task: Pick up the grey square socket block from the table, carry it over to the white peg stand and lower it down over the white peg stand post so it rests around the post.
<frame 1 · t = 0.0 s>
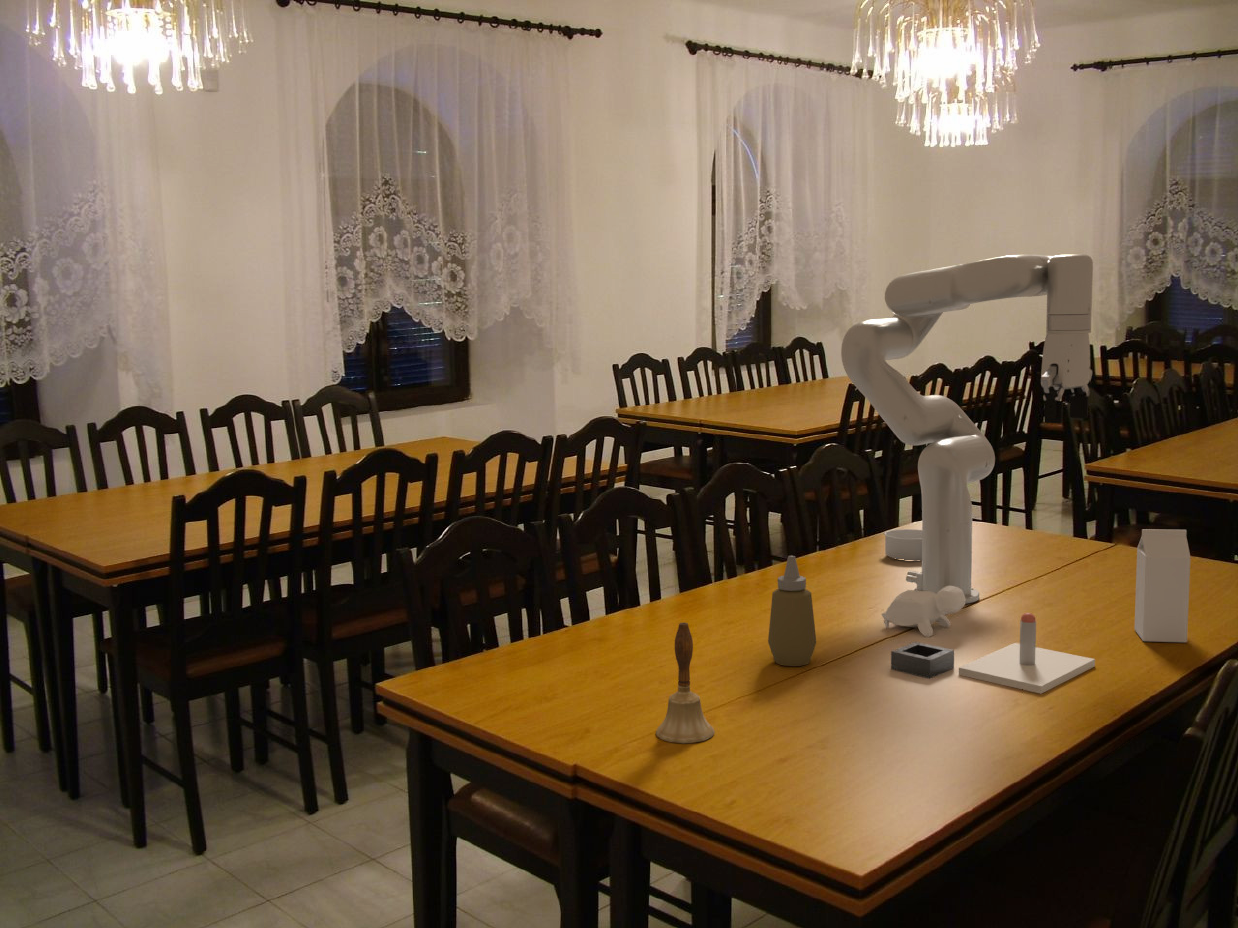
hand: (1066, 420, 222), 37 cm above the table, tool pointing down, fingers open, 9 cm apart
milk carton: (1160, 638, 215), on the table
saucepan: (925, 561, 277), on the table
grey square socket block: (922, 668, 201), on the table
white peg stand: (1027, 670, 198), on the table
hand bell: (685, 734, 175), on the table
squeeze bottle: (792, 663, 206), on the table
white turtle figurine: (925, 630, 223), on the table
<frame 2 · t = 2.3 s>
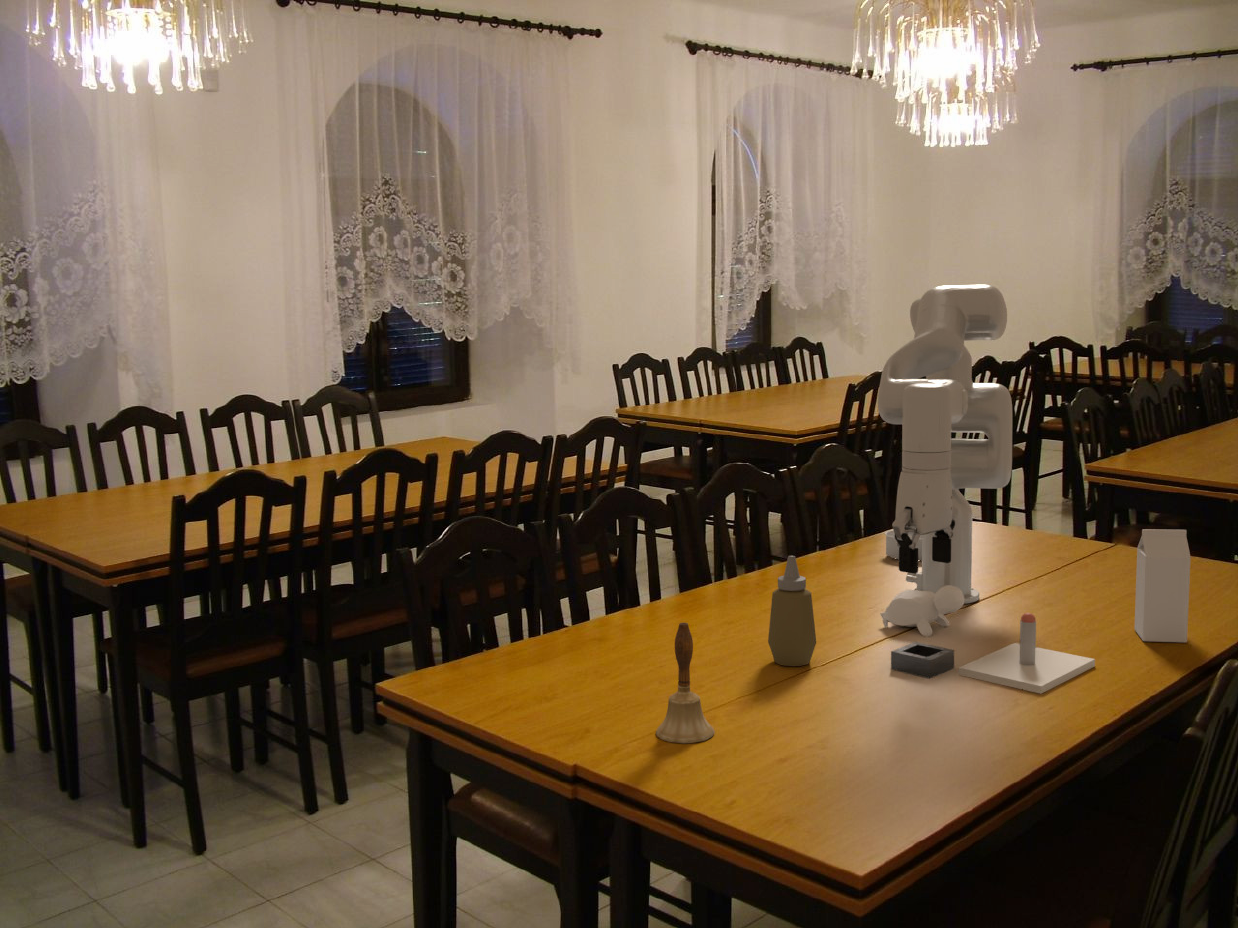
hand: (925, 566, 198), 17 cm above the table, tool pointing down, fingers open, 9 cm apart
nothing on the table moved.
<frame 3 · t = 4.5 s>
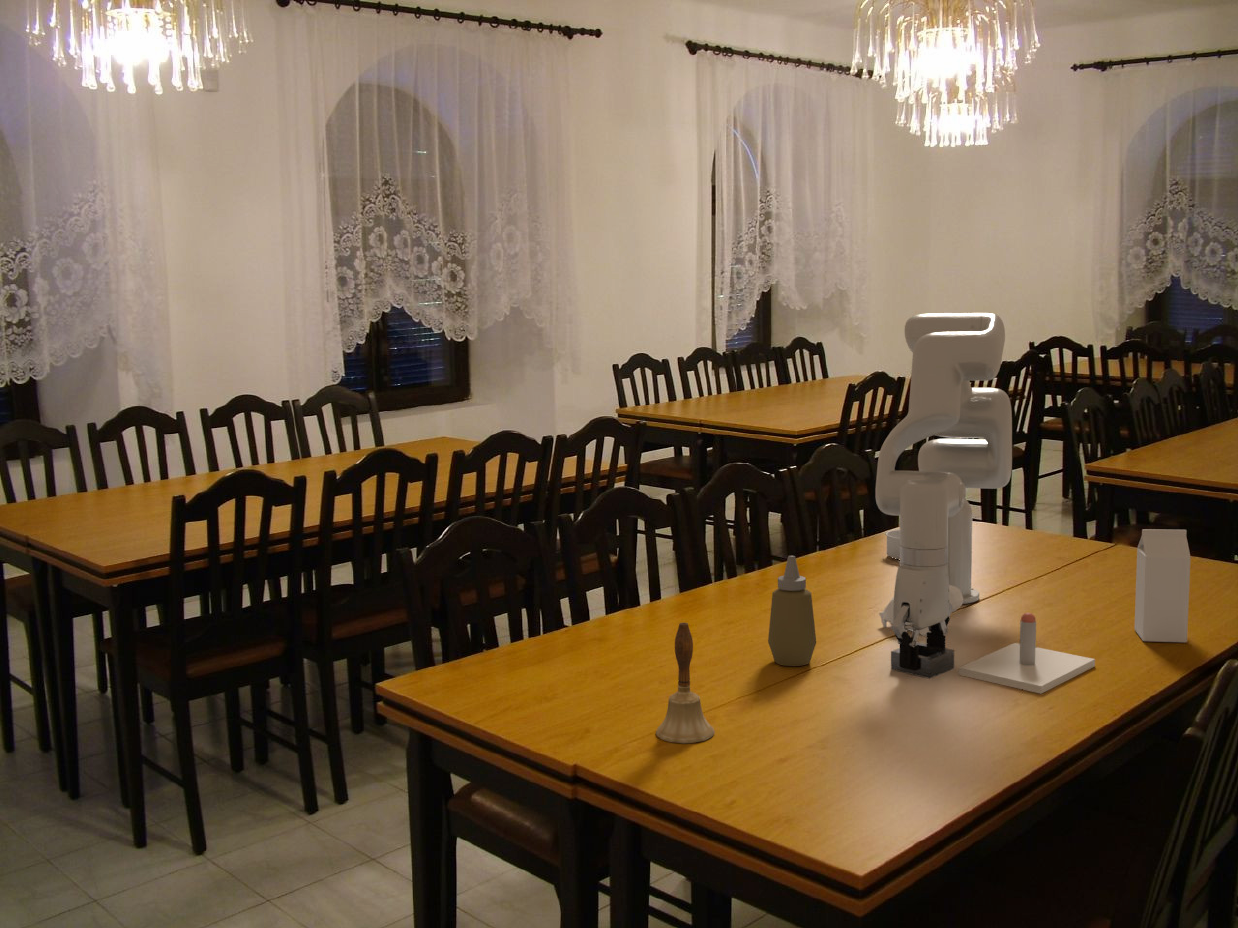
hand: (922, 662, 200), 1 cm above the table, tool pointing down, fingers closed on grey square socket block, 7 cm apart
grey square socket block: (922, 668, 201), on the table, touching gripper
everything else where it was.
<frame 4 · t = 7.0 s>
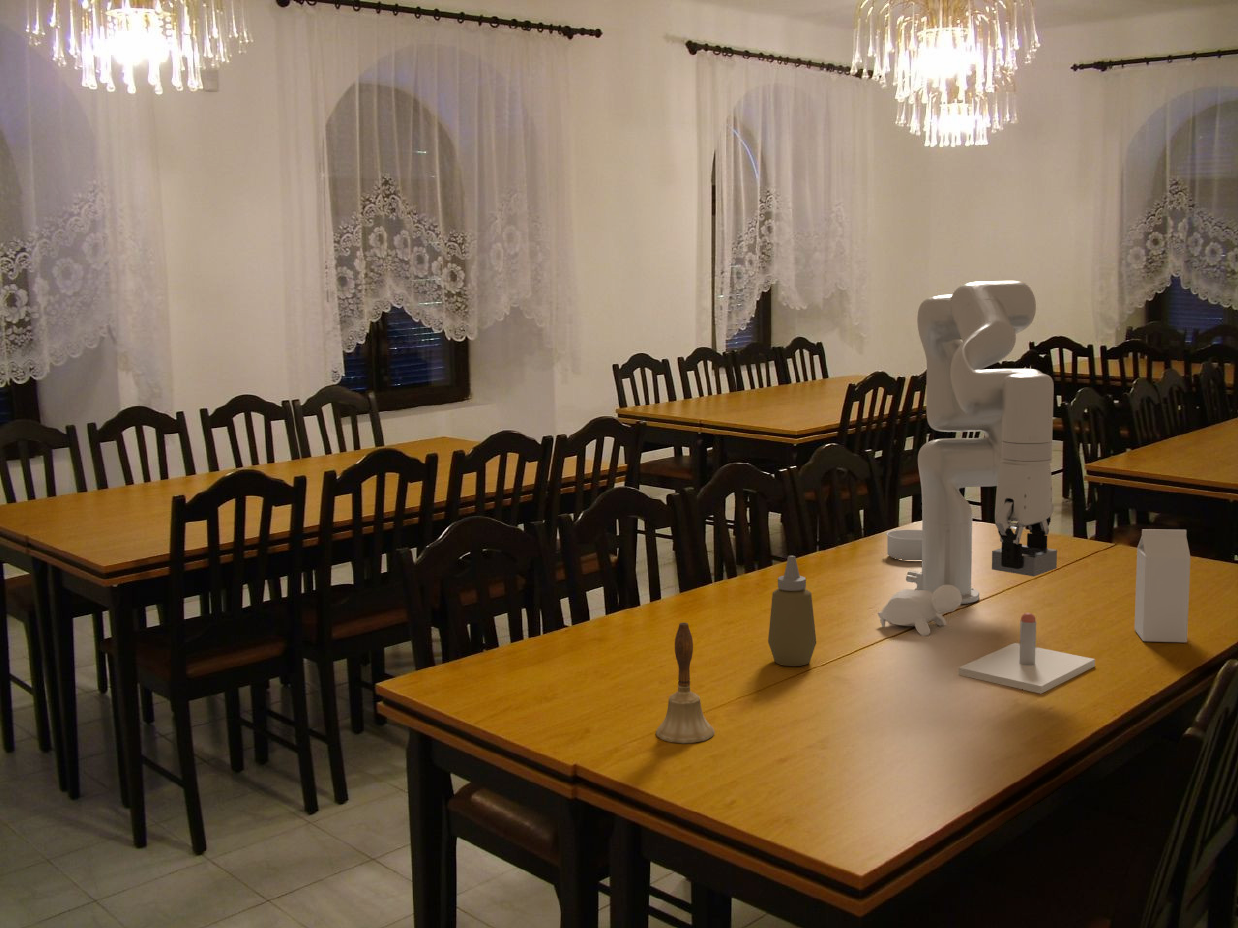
hand: (1024, 562, 196), 18 cm above the table, tool pointing down, fingers closed on grey square socket block, 7 cm apart
grey square socket block: (1024, 568, 196), point 17 cm above the table, touching gripper
everything else where it was.
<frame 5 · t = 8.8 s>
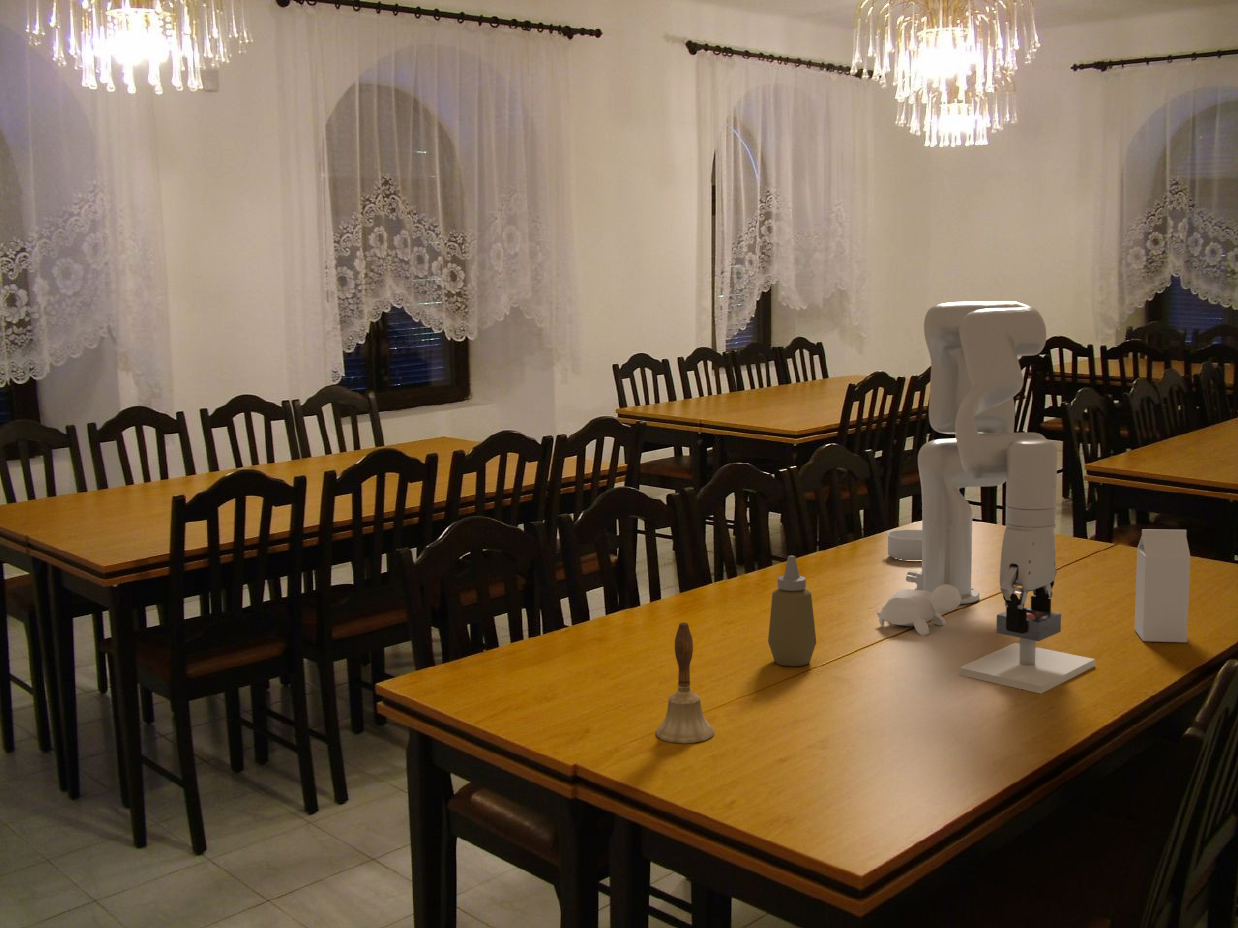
hand: (1028, 625, 197), 7 cm above the table, tool pointing down, fingers closed on grey square socket block, 7 cm apart
grey square socket block: (1028, 632, 197), point 6 cm above the table, touching gripper
when the fingers open (4 cm above the table, at t = 10.0 s): grey square socket block drops 2 cm, resting on white peg stand.
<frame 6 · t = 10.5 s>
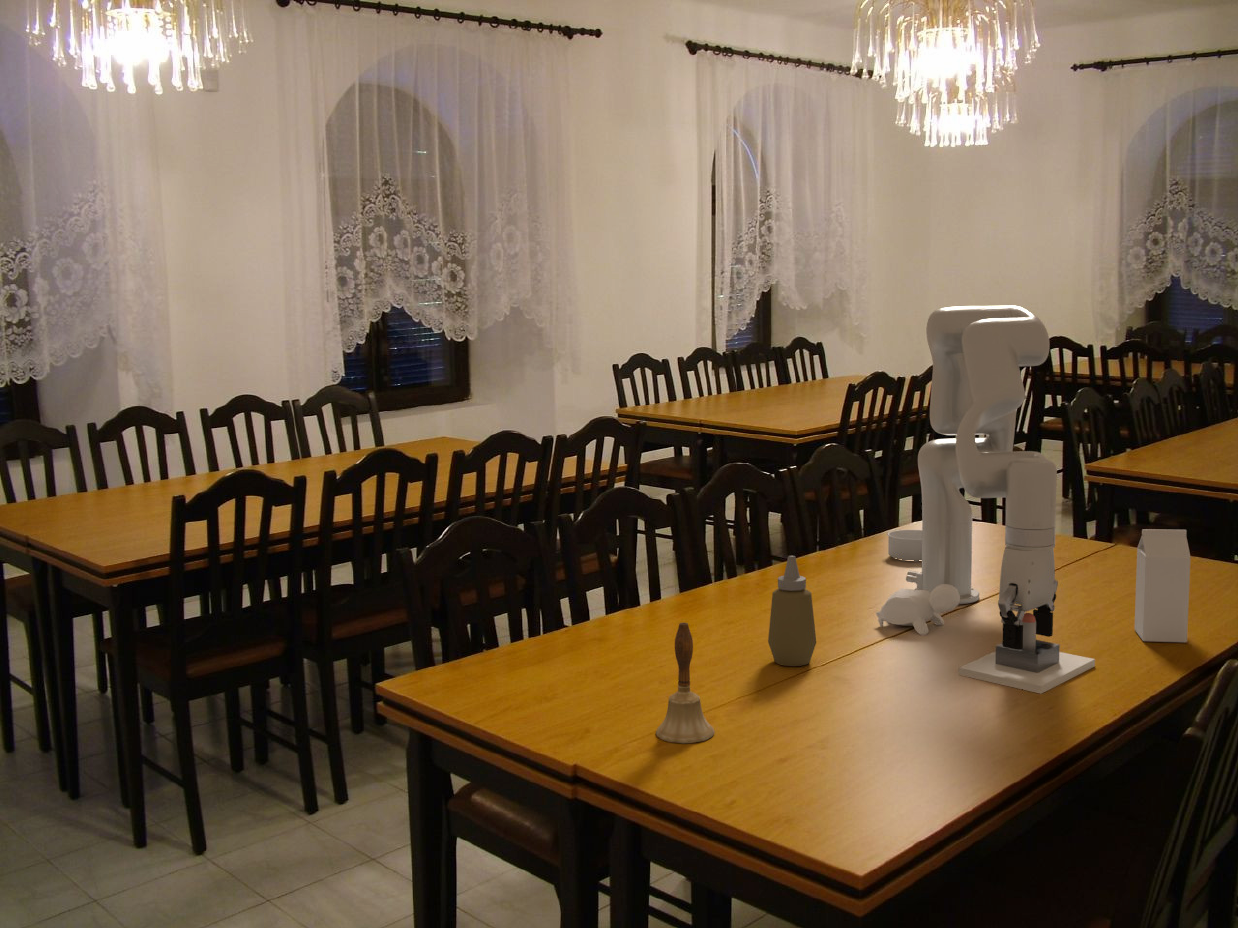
hand: (1027, 641, 198), 5 cm above the table, tool pointing down, fingers open, 9 cm apart
grey square socket block: (1027, 663, 198), point 1 cm above the table, touching white peg stand
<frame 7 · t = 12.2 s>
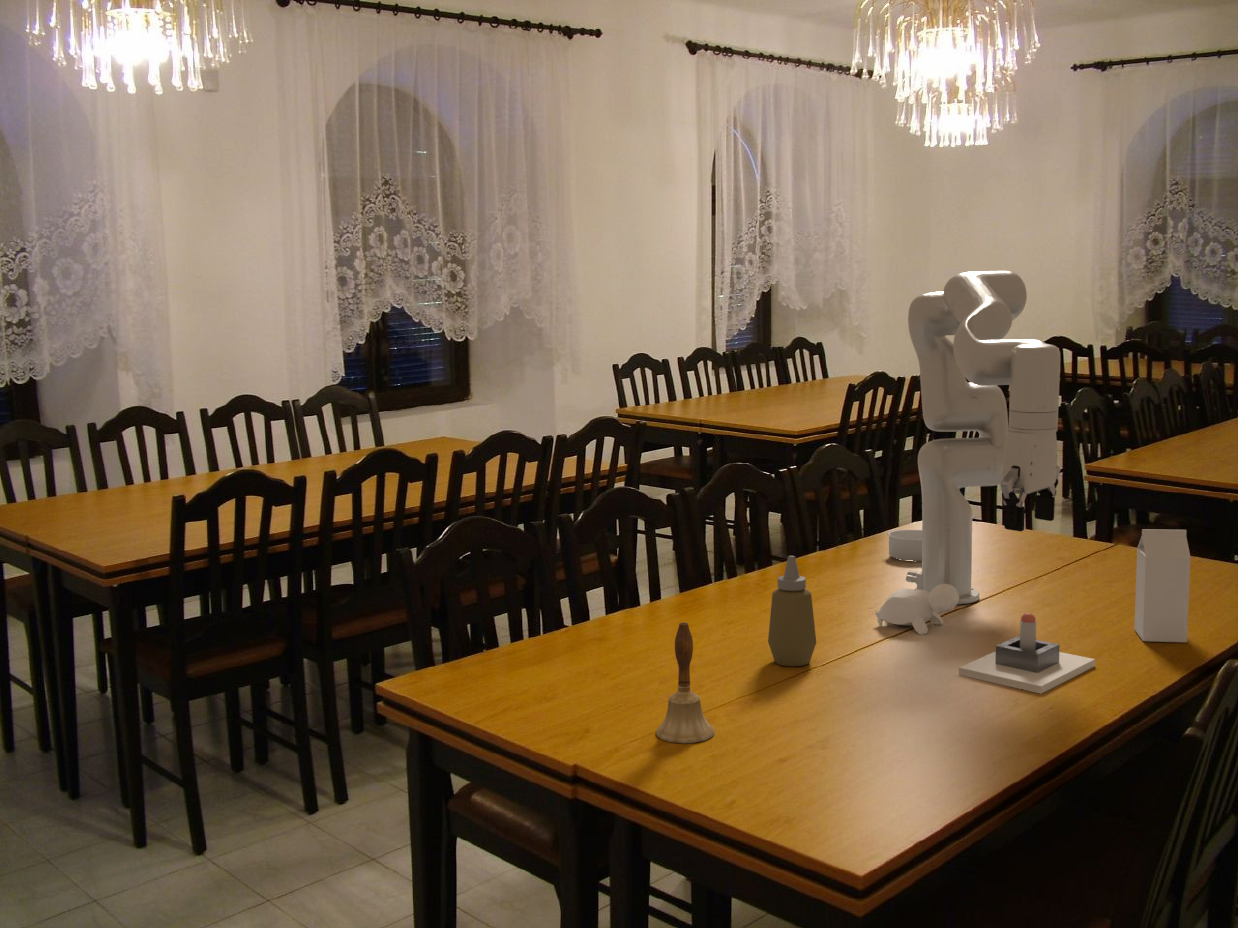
hand: (1029, 524, 202), 22 cm above the table, tool pointing down, fingers open, 9 cm apart
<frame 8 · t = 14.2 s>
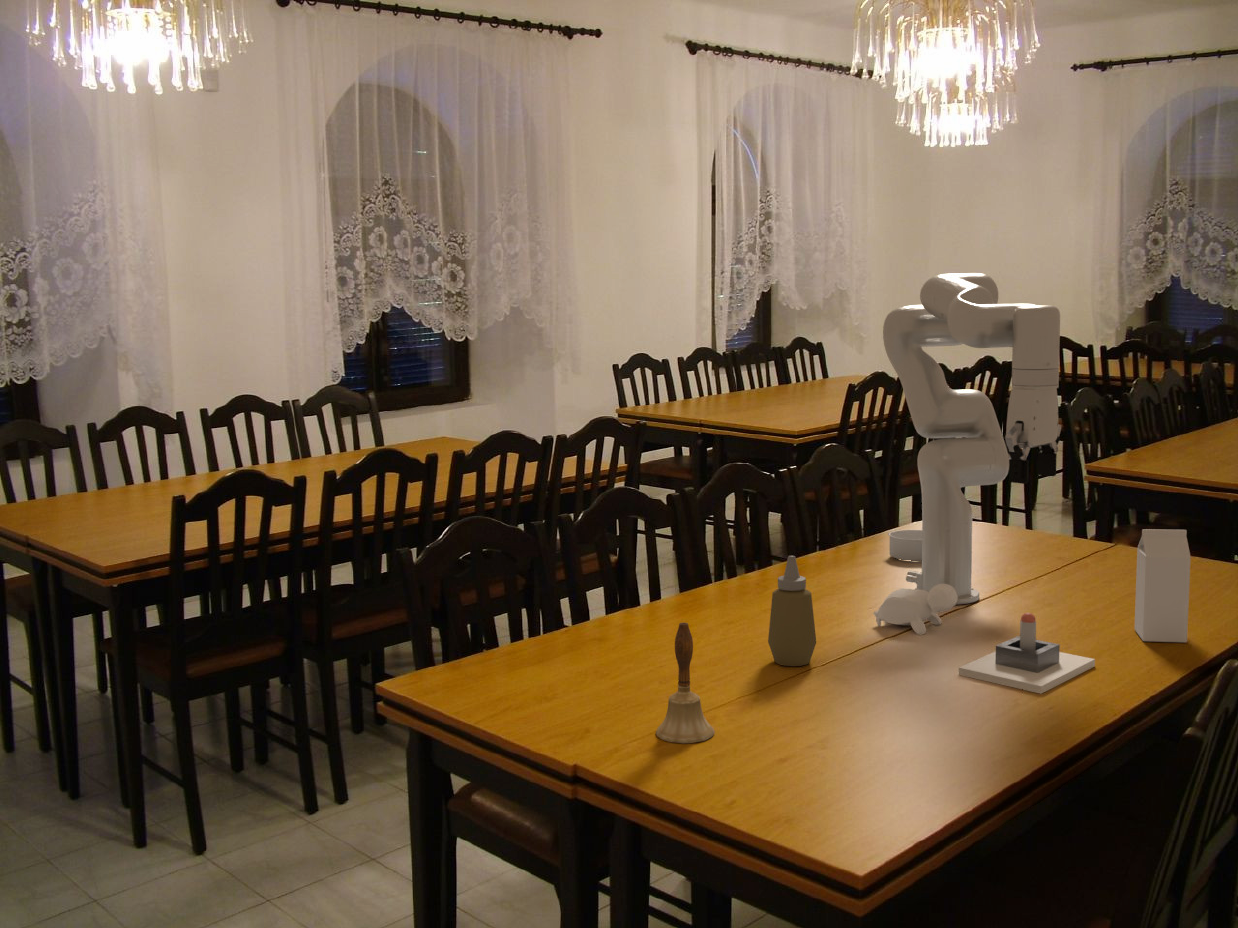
hand: (1032, 479, 211), 28 cm above the table, tool pointing down, fingers open, 9 cm apart
at the end: grey square socket block 0.1 cm off-centre on the white peg stand, point 1.2 cm above the white peg stand's base; the gripper is holding nothing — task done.
